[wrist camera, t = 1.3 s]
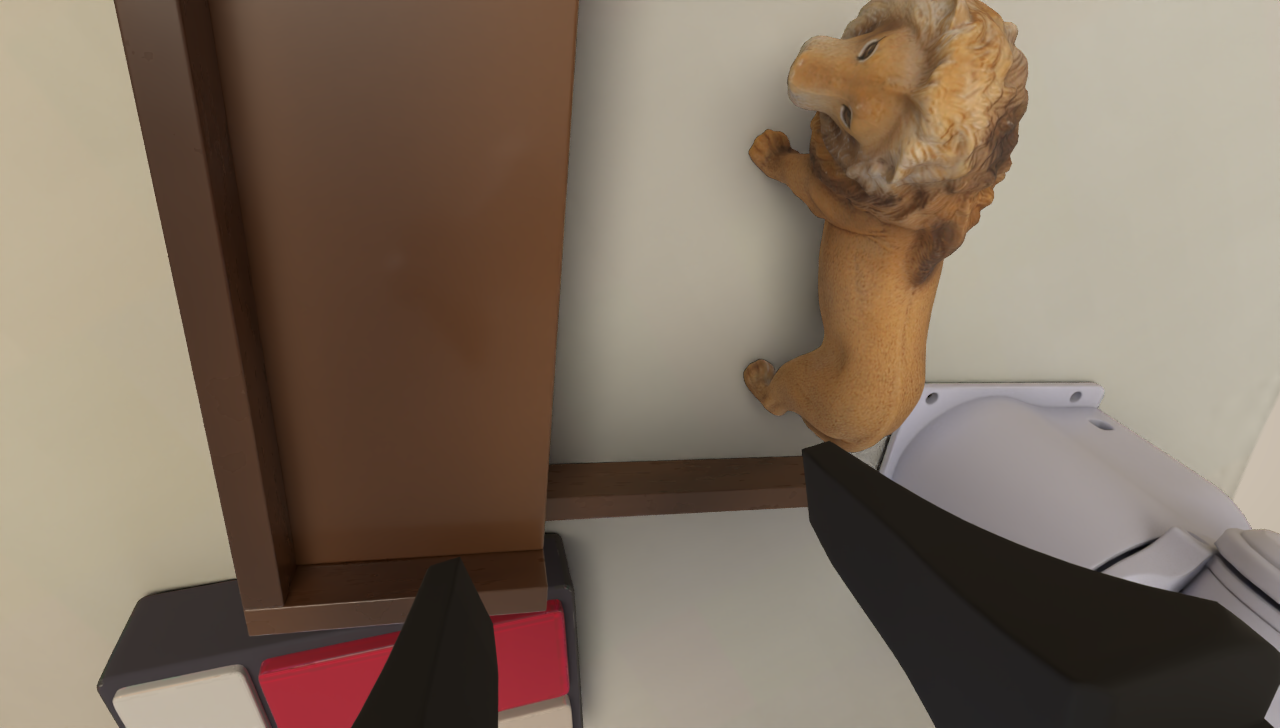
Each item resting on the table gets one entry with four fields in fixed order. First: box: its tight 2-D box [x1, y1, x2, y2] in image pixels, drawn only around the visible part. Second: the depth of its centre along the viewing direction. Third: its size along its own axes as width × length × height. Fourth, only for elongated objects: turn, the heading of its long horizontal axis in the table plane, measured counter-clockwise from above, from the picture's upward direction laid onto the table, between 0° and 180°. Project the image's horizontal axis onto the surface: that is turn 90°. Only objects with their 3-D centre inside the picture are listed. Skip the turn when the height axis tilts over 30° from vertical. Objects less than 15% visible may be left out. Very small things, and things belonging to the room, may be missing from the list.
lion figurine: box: [744, 0, 1028, 452], centre depth 19 cm, size 15×5×9 cm, turn 11°
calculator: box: [97, 534, 583, 728], centre depth 26 cm, size 11×4×15 cm
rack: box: [114, 0, 808, 636], centre depth 18 cm, size 20×21×6 cm
